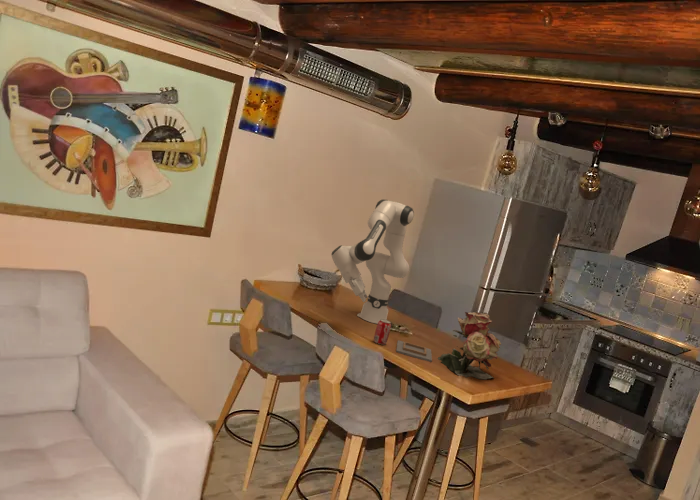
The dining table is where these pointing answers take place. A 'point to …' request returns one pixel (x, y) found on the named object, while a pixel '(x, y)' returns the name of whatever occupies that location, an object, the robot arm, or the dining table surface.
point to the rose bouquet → (473, 347)
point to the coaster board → (414, 350)
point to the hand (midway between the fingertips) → (365, 299)
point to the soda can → (382, 331)
